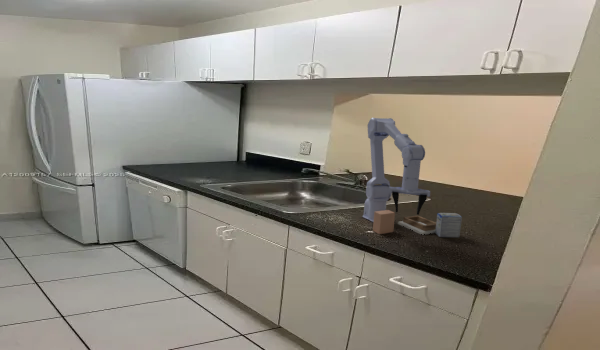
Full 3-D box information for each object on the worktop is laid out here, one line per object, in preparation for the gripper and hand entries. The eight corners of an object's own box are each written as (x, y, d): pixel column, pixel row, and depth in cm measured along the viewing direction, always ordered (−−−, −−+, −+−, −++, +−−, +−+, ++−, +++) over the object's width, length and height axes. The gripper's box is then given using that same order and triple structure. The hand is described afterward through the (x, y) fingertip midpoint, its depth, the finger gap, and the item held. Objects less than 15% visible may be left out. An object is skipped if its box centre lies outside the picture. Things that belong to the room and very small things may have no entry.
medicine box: (454, 233, 140) (456, 212, 138) (459, 237, 136) (462, 216, 134) (434, 233, 140) (437, 212, 138) (439, 237, 135) (442, 215, 134)
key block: (372, 230, 140) (374, 211, 139) (386, 228, 143) (388, 209, 142) (379, 234, 137) (380, 214, 135) (393, 231, 140) (395, 212, 138)
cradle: (397, 223, 149) (398, 217, 149) (418, 220, 155) (419, 214, 154) (422, 234, 137) (423, 227, 137) (444, 231, 142) (445, 224, 142)
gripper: (390, 177, 128) (387, 213, 131) (432, 181, 124) (428, 218, 127) (390, 174, 135) (387, 208, 137) (430, 177, 131) (426, 212, 134)
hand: (407, 212), depth 133 cm, fingers open, 7 cm apart
